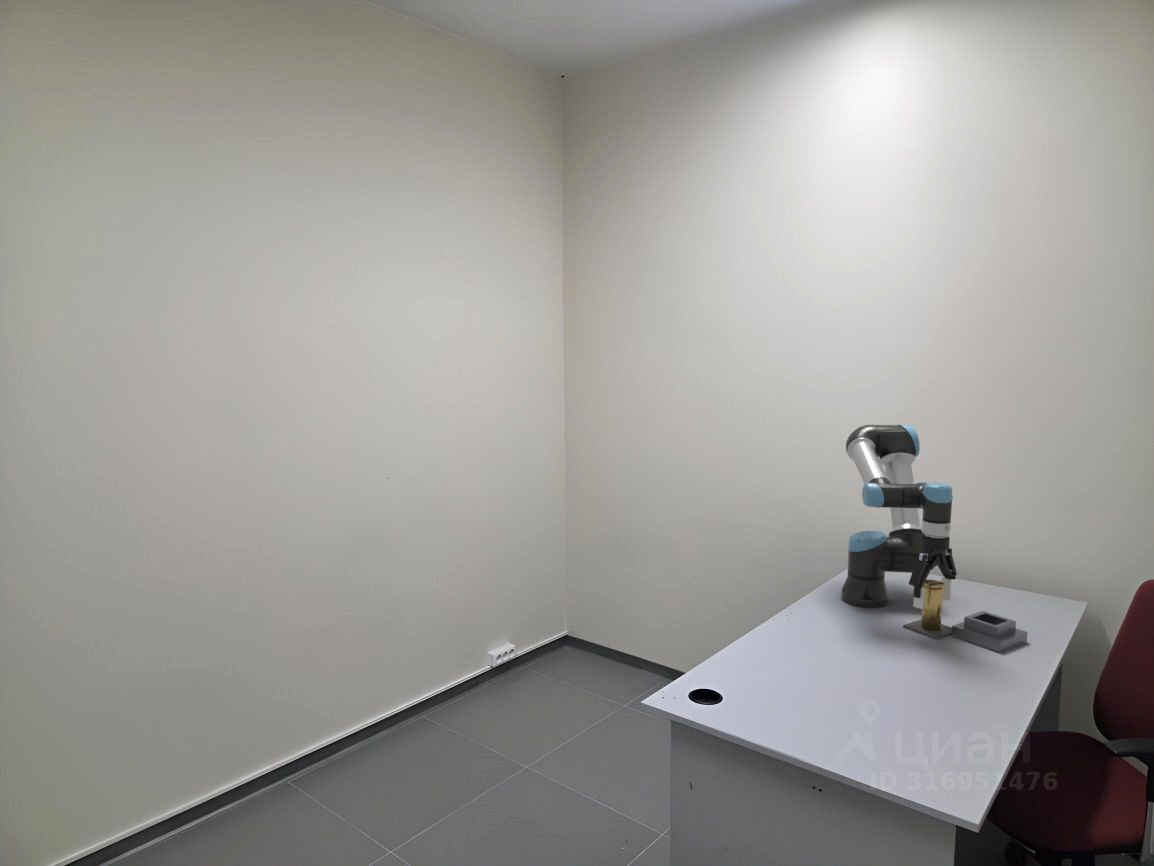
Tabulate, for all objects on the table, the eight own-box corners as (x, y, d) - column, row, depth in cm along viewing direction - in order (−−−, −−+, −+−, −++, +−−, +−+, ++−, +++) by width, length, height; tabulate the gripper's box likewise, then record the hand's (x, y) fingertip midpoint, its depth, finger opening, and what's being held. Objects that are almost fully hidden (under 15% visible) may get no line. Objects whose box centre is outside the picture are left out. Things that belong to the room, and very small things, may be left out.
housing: (951, 635, 206) (952, 616, 205) (978, 625, 213) (979, 607, 212) (1000, 652, 194) (1001, 632, 193) (1026, 642, 201) (1028, 622, 200)
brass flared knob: (915, 626, 211) (917, 581, 210) (927, 622, 214) (929, 578, 213) (934, 632, 206) (936, 587, 205) (946, 628, 209) (948, 583, 208)
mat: (902, 627, 212) (903, 625, 212) (924, 619, 218) (924, 618, 218) (936, 639, 203) (937, 637, 203) (958, 631, 208) (958, 629, 208)
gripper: (921, 543, 197) (918, 615, 200) (972, 532, 210) (968, 599, 212) (898, 538, 204) (894, 607, 206) (948, 526, 216) (944, 592, 219)
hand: (932, 603), depth 209 cm, fingers open, 13 cm apart
